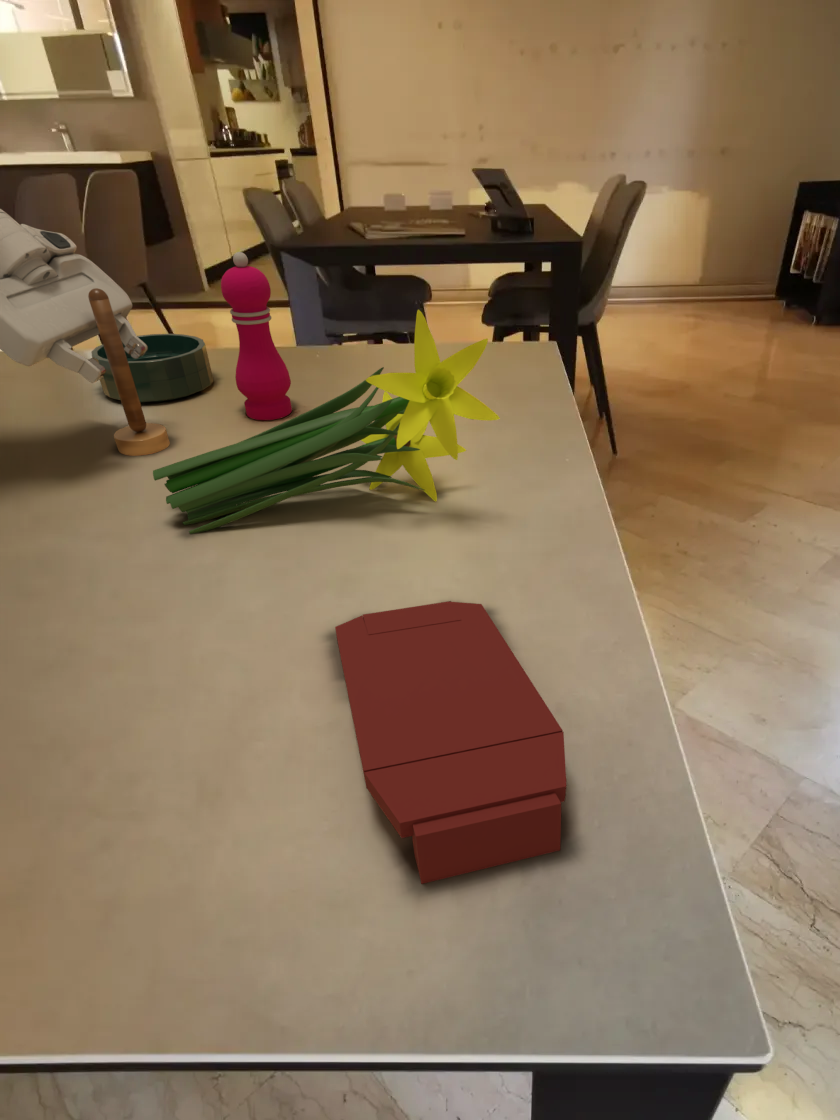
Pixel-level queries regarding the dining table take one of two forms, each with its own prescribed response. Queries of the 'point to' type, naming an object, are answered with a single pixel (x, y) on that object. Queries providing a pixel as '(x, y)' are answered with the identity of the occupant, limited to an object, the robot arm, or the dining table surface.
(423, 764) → the carton
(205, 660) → the dining table surface
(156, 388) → the bowl
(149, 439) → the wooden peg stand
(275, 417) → the pepper mill
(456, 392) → the daffodil flowers
